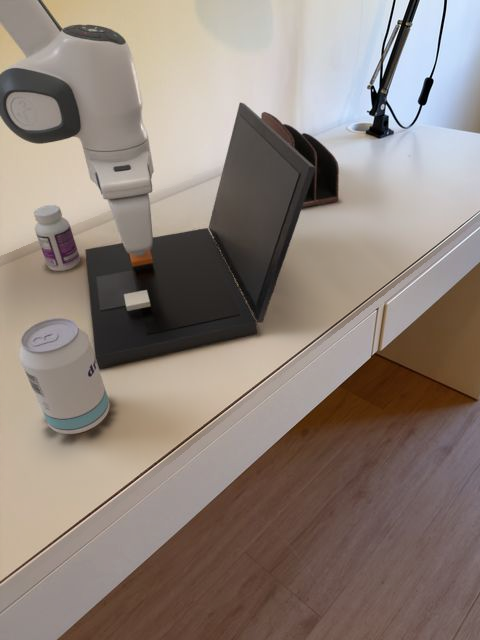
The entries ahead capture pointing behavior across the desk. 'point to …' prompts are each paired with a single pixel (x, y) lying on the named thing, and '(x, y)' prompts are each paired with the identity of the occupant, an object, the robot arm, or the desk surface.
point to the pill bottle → (56, 238)
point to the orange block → (141, 259)
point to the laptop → (164, 299)
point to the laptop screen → (258, 206)
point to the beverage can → (64, 375)
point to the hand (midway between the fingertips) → (138, 251)
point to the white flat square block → (137, 300)
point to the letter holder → (318, 155)
